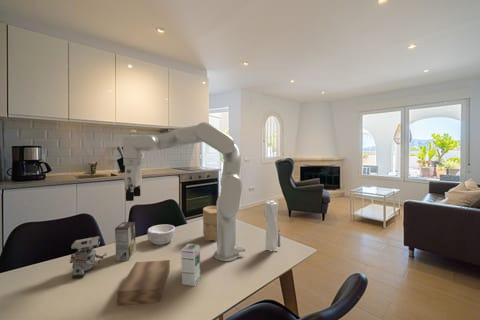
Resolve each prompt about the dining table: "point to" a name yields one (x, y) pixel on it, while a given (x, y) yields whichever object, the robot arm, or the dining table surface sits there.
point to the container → (210, 223)
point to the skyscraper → (272, 225)
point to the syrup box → (190, 264)
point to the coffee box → (125, 241)
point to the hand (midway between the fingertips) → (133, 198)
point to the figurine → (84, 255)
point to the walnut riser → (144, 283)
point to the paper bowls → (161, 234)
